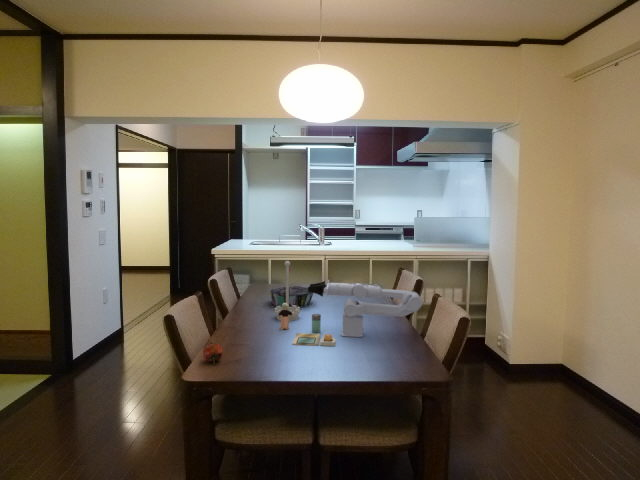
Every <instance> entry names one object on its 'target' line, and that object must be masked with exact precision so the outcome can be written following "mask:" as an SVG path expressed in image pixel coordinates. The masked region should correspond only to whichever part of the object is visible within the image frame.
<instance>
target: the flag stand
mask: <svg viewBox="0 0 640 480" xmlns="http://www.w3.org/2000/svg"><path fill="white" fill-rule="evenodd" d="M284 266H285V287H286V303H287V304H288V305H289V286H290V279H289V278H290V276H289V275H290V271H291V268H290V266H291V262H290V261H289V260H285V262H284ZM281 310H283V307H281V306H277V307H276V306H275V307H274V314H275V315H276V319H277V320H278V321H281V316H282V315H280V317H279V318H277V316H278V314H279V313H280V311H281ZM287 310H289V311H290V312H292V314H293V316H294V317H293V318H292V317H291V315H288V316H289V322H290V321H296V320H298V318H299V314H300V313H301V307H297V306H295V305H292V307H288V309H287Z"/></svg>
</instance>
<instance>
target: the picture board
mask: <svg viewBox="0 0 640 480" xmlns="http://www.w3.org/2000/svg"><path fill="white" fill-rule="evenodd" d="M321 336H322V335H321V333H303V332H302V333H298V332H297V333H296V334H295V336H294V338H293V341H292V343H291V344H292V346H317V347H319V345H320V344H319V343H320V341H321Z"/></svg>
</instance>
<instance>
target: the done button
mask: <svg viewBox="0 0 640 480" xmlns="http://www.w3.org/2000/svg"><path fill="white" fill-rule="evenodd" d="M332 336H333V335H332V334H330V333H329V334H327V333H326V334H324V335H323V338H324V341H330V342H331V341H332V338H333V337H332Z"/></svg>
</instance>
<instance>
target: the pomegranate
mask: <svg viewBox="0 0 640 480" xmlns="http://www.w3.org/2000/svg"><path fill="white" fill-rule="evenodd" d="M209 343H210V344H208V345H206V346H205V347H204V349H203V351H202V352H203V355H202V356H203V358H204V360H205V361H206V362H208V363H210V362H213V365H214V366H215V365H216V364H215V362H217V361H220V360H221V359H222V357H223V355H224V349H223V347H222V346H221V345H220V344H219V343H215V342H214V343H213V342H212V341H211V342H209Z"/></svg>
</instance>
